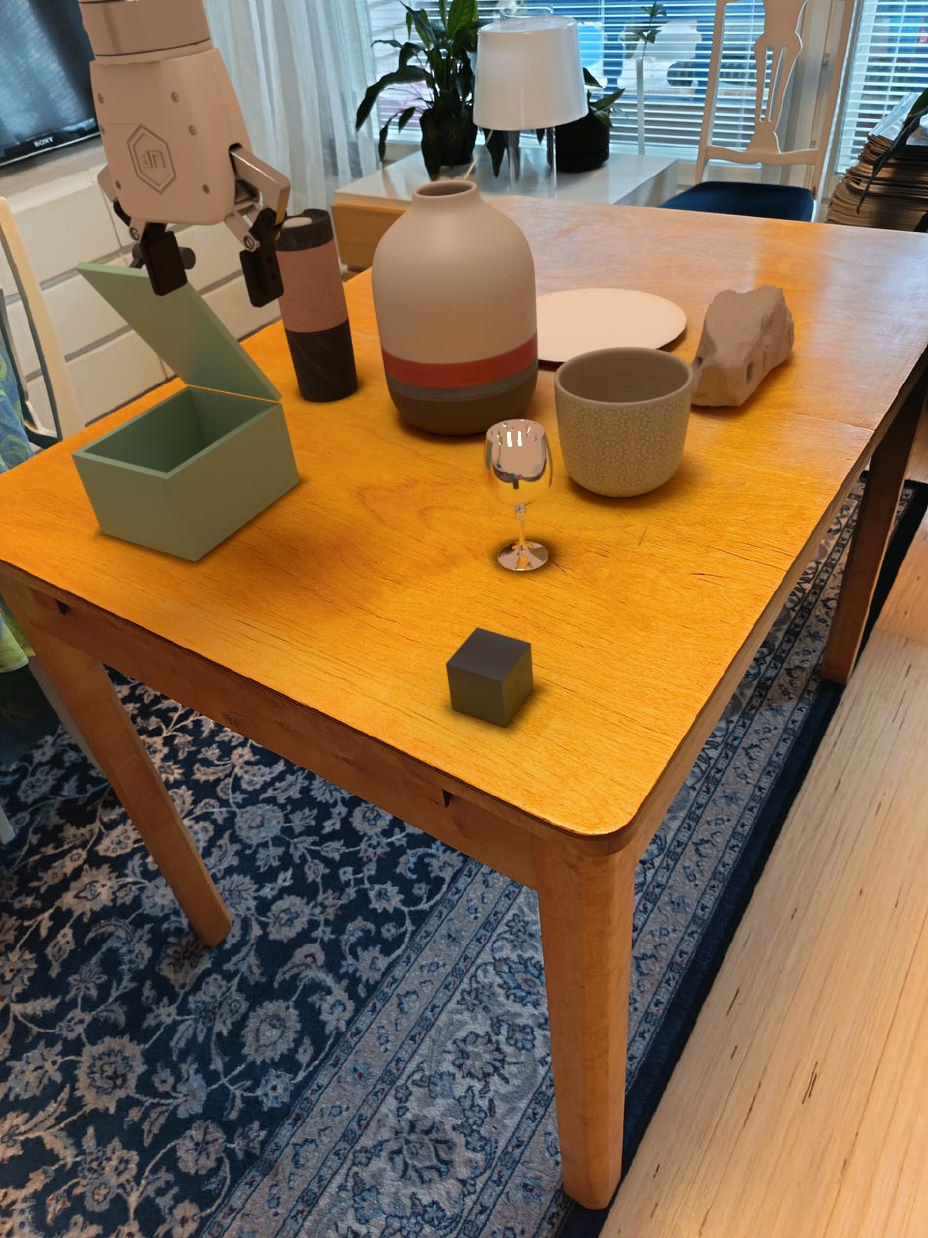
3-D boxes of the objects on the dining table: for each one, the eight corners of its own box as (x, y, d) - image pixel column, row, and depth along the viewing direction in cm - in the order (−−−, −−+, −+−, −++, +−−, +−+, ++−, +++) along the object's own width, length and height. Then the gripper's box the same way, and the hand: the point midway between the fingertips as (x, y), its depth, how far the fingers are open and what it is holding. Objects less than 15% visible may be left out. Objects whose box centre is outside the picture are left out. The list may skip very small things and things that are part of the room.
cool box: (195, 562, 83) (167, 478, 78) (102, 533, 89) (70, 453, 84) (300, 482, 94) (281, 403, 88) (210, 460, 99) (188, 385, 94)
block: (505, 728, 63) (501, 681, 61) (451, 709, 65) (445, 663, 63) (533, 688, 66) (531, 642, 63) (481, 672, 68) (477, 626, 65)
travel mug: (334, 407, 107) (299, 230, 94) (285, 397, 110) (246, 225, 98) (372, 381, 112) (344, 209, 99) (325, 372, 115) (292, 205, 103)
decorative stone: (733, 427, 94) (743, 334, 88) (666, 413, 98) (671, 323, 92) (799, 354, 107) (812, 268, 100) (738, 345, 110) (746, 261, 104)
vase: (561, 387, 106) (555, 166, 91) (506, 455, 94) (490, 214, 79) (431, 374, 112) (406, 165, 97) (365, 436, 100) (325, 210, 85)
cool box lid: (177, 280, 74) (206, 233, 75) (74, 268, 79) (103, 224, 81) (279, 402, 88) (301, 360, 89) (185, 384, 93) (207, 345, 95)
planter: (531, 479, 90) (526, 375, 83) (623, 436, 95) (625, 335, 88) (618, 528, 81) (620, 417, 75) (713, 479, 87) (723, 371, 80)
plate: (728, 328, 115) (729, 315, 114) (582, 392, 104) (582, 378, 103) (591, 286, 131) (591, 274, 130) (453, 338, 120) (452, 325, 119)
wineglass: (569, 552, 79) (566, 427, 72) (527, 583, 76) (519, 456, 69) (519, 531, 83) (511, 409, 75) (476, 560, 80) (464, 437, 72)
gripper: (13, 43, 59) (103, 302, 70) (210, 33, 52) (277, 325, 63) (98, 25, 64) (170, 270, 75) (290, 14, 57) (339, 287, 68)
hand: (219, 295), depth 69 cm, fingers open, 9 cm apart
